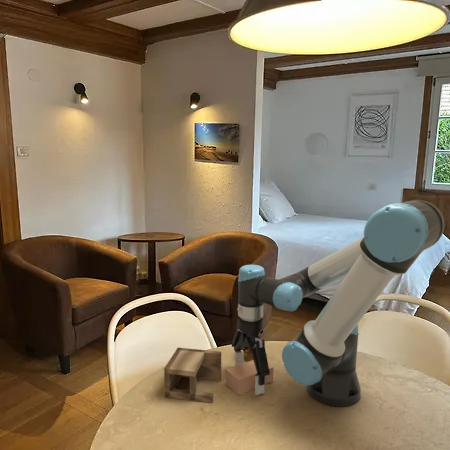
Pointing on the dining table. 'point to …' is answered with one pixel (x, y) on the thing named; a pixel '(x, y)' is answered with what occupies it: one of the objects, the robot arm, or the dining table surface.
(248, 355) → the condiment
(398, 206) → the robot arm
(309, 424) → the dining table surface
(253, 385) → the pink rectangular block
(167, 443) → the dining table surface
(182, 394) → the dock
